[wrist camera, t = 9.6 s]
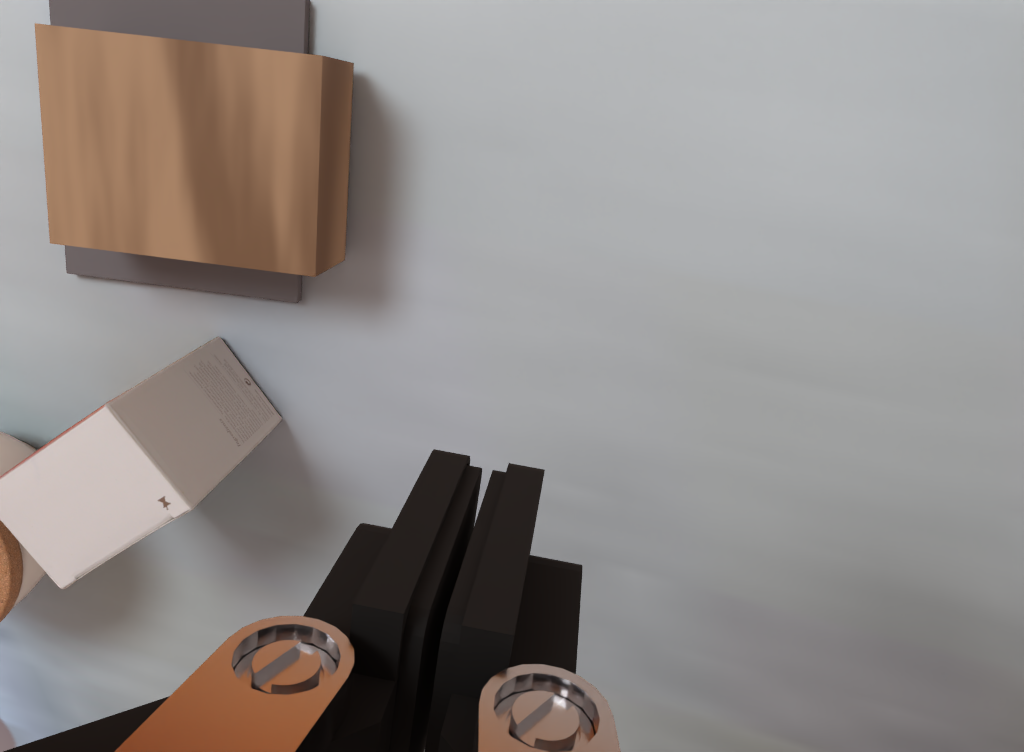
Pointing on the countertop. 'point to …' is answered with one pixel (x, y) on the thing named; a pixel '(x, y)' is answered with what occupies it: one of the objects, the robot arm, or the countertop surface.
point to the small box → (135, 463)
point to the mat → (201, 18)
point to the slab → (195, 149)
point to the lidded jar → (14, 539)
